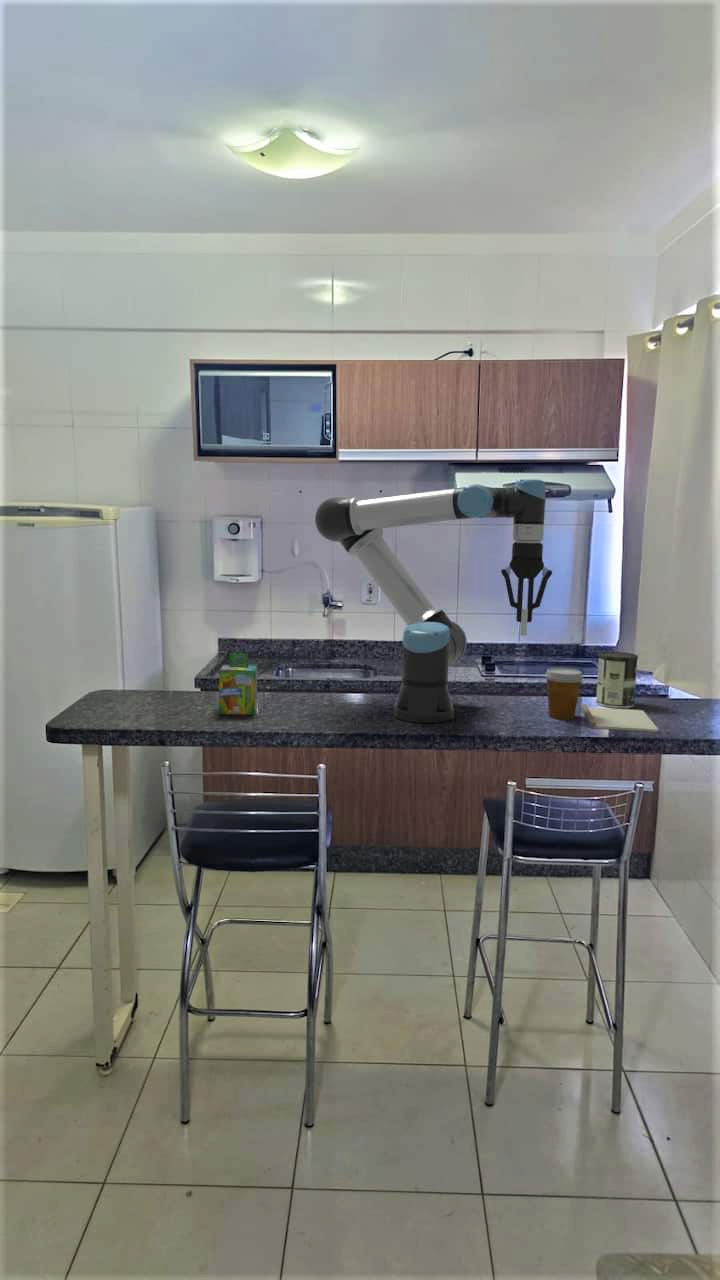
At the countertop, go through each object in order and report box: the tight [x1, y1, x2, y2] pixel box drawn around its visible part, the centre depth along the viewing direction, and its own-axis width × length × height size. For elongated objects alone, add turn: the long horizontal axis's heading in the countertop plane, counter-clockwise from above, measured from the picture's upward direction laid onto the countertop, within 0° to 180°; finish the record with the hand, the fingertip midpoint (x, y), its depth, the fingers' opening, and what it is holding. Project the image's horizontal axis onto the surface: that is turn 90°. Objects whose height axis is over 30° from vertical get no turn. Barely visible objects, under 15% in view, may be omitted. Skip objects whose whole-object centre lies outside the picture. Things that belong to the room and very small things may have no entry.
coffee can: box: [595, 651, 639, 709], centre depth 220 cm, size 10×10×14 cm
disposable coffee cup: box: [544, 667, 584, 721], centre depth 205 cm, size 10×10×12 cm
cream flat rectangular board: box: [580, 703, 660, 733], centre depth 204 cm, size 16×20×2 cm
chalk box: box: [218, 653, 258, 716], centre depth 203 cm, size 9×9×15 cm
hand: (523, 634), depth 204 cm, fingers closed
